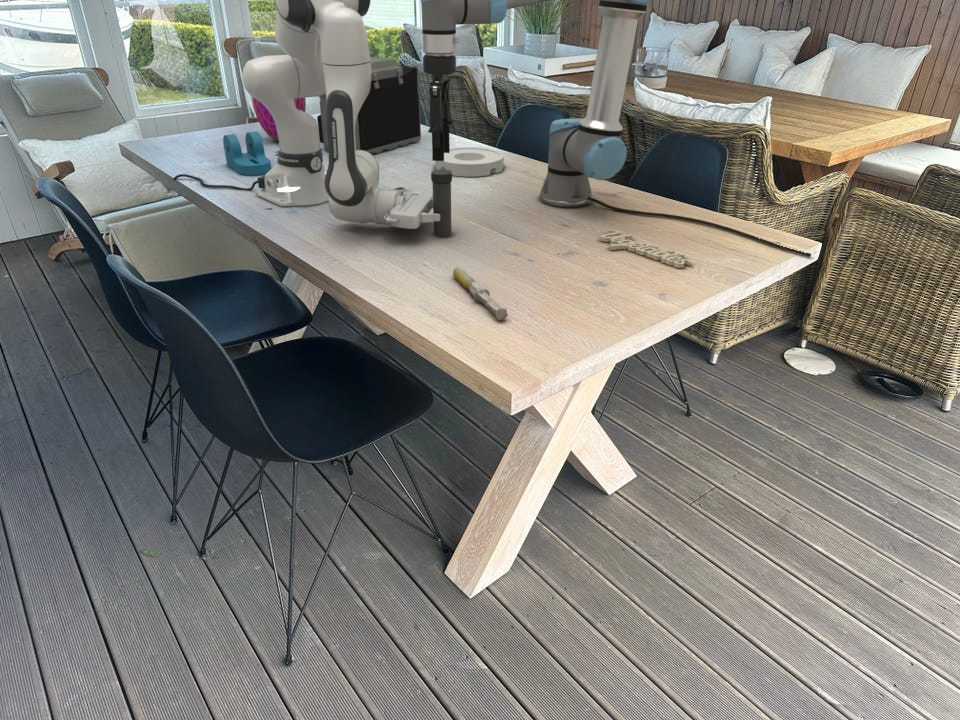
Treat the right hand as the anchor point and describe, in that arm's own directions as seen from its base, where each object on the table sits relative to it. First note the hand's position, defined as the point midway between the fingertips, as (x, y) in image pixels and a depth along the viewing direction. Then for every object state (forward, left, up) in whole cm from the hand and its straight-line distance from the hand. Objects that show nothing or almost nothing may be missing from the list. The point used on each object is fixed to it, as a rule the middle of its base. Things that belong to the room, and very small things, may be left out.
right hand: (441, 156), depth 167 cm
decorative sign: (-49, -11, -20) cm, 54 cm away
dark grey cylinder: (0, 0, -20) cm, 20 cm away
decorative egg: (+103, -64, -20) cm, 123 cm away
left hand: (-1, 0, -14) cm, 14 cm away
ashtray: (+22, -61, -20) cm, 68 cm away
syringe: (-24, +30, -20) cm, 44 cm away
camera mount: (+86, -27, -20) cm, 92 cm away
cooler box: (+68, -72, -20) cm, 101 cm away
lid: (0, 0, -4) cm, 4 cm away
